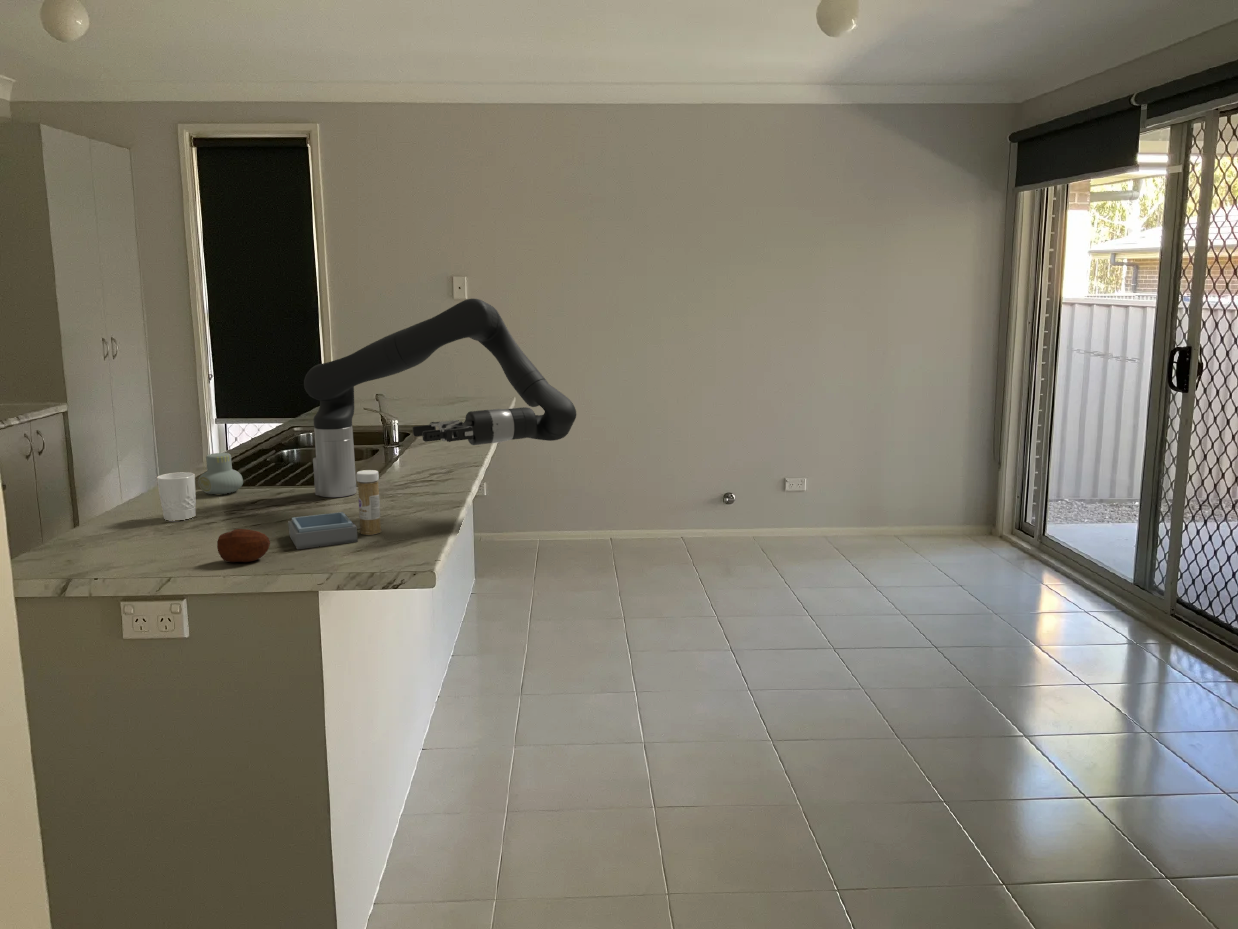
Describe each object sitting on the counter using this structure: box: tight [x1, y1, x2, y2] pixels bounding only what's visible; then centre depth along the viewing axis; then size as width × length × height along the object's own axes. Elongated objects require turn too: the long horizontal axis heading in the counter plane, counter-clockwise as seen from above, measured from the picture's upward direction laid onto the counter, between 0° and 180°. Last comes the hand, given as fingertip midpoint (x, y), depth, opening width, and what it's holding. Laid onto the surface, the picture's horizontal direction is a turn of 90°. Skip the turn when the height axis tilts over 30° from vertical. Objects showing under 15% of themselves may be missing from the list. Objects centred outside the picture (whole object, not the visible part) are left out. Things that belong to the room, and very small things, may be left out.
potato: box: [216, 528, 271, 563], centre depth 187 cm, size 7×9×6 cm
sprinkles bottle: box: [355, 469, 382, 536], centre depth 206 cm, size 5×5×13 cm
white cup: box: [156, 471, 197, 522], centre depth 221 cm, size 8×8×10 cm
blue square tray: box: [287, 511, 359, 550], centre depth 202 cm, size 12×12×4 cm
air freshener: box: [198, 452, 244, 495], centre depth 247 cm, size 11×8×10 cm
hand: (417, 434), depth 208 cm, fingers open, 8 cm apart
